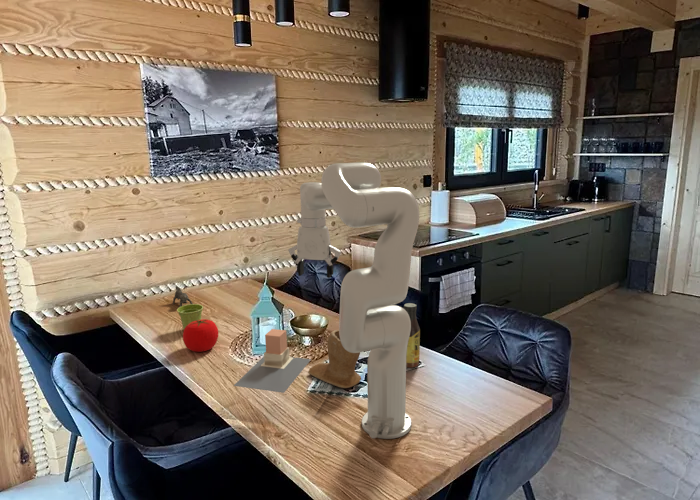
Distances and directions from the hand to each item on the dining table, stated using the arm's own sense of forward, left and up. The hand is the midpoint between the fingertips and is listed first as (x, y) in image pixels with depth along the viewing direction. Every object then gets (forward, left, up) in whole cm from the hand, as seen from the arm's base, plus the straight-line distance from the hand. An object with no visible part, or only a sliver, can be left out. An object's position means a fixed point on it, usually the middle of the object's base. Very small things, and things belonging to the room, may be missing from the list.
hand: (315, 275), depth 158 cm
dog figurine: (+35, +75, -29) cm, 88 cm away
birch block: (-8, +11, -27) cm, 31 cm away
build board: (-14, +9, -28) cm, 33 cm away
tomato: (-3, +42, -28) cm, 51 cm away
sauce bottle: (+3, -30, -28) cm, 41 cm away
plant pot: (+11, +55, -28) cm, 63 cm away
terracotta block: (-8, +11, -23) cm, 27 cm away
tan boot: (-12, -11, -29) cm, 33 cm away
